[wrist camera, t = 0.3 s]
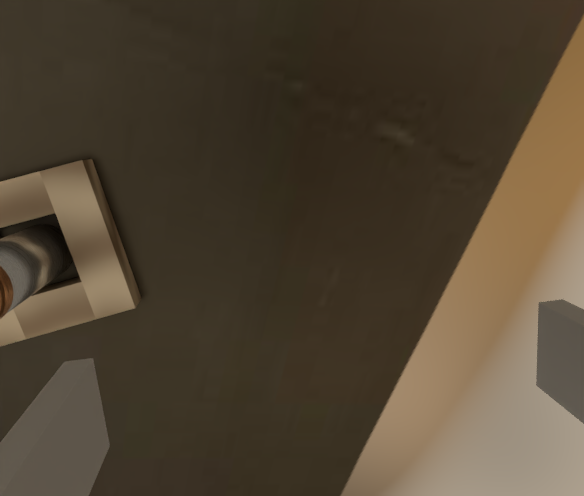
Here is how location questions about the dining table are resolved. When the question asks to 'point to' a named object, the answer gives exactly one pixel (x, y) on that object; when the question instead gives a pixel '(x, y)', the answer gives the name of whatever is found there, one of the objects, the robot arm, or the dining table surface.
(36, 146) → the dining table surface
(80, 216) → the socket block
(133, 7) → the dining table surface
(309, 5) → the dining table surface
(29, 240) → the clear jar
